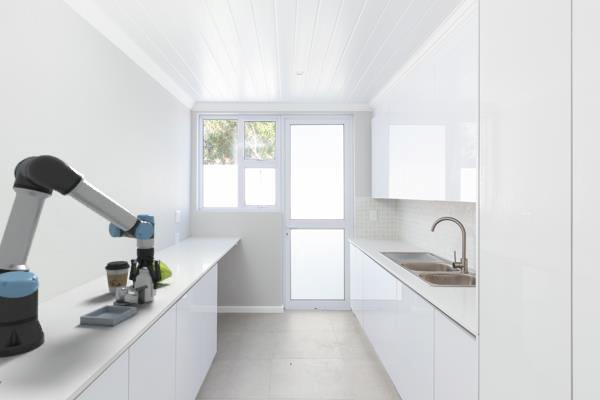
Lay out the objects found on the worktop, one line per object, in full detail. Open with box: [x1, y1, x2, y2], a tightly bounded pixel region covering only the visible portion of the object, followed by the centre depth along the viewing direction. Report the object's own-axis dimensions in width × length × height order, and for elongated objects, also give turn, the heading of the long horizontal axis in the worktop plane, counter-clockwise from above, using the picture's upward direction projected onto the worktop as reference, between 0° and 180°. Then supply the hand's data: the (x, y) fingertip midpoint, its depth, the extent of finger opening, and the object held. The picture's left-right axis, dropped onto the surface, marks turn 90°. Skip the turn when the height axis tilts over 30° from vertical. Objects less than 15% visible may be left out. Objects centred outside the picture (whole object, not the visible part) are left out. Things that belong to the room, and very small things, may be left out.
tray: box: [79, 304, 137, 327], centre depth 137 cm, size 14×14×3 cm
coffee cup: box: [104, 260, 131, 295], centre depth 174 cm, size 11×11×15 cm
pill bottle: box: [136, 268, 155, 303], centre depth 161 cm, size 8×8×15 cm
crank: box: [115, 285, 148, 305], centre depth 153 cm, size 15×6×8 cm, turn 71°
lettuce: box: [135, 259, 173, 284], centre depth 190 cm, size 15×20×14 cm
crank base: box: [112, 300, 131, 307], centre depth 159 cm, size 16×7×1 cm, turn 171°
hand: (145, 295), depth 161 cm, fingers closed on pill bottle, 8 cm apart
